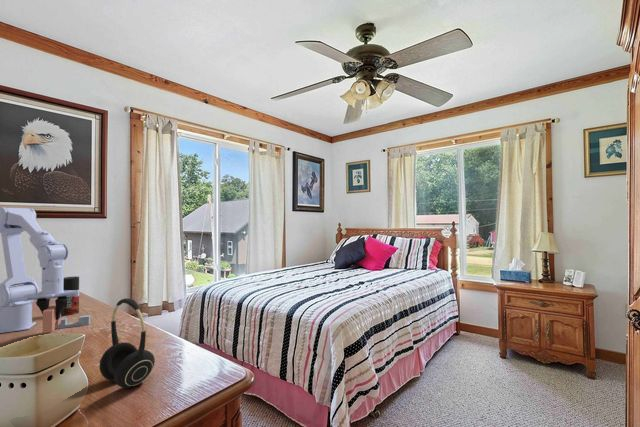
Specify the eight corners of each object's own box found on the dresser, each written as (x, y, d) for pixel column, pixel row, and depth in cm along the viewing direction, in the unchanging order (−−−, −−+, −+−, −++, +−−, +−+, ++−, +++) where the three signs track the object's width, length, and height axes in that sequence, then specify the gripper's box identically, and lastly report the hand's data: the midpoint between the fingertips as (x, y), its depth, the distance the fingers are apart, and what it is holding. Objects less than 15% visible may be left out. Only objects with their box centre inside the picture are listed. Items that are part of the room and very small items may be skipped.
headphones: (130, 367, 82) (130, 291, 82) (162, 382, 74) (162, 298, 75) (92, 382, 75) (93, 298, 75) (124, 400, 67) (124, 307, 67)
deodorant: (63, 316, 127) (63, 279, 127) (59, 313, 130) (59, 278, 131) (80, 313, 131) (81, 277, 132) (76, 310, 135) (76, 275, 135)
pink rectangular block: (42, 332, 101) (42, 311, 102) (52, 323, 110) (52, 303, 110) (52, 331, 102) (52, 310, 103) (60, 322, 111) (61, 303, 112)
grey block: (54, 329, 112) (54, 320, 112) (56, 327, 114) (56, 318, 114) (88, 324, 116) (88, 316, 117) (90, 322, 119) (90, 314, 119)
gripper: (20, 284, 100) (19, 326, 100) (76, 279, 106) (75, 319, 106) (28, 280, 106) (27, 320, 106) (81, 276, 113) (80, 314, 112)
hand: (52, 319), depth 106 cm, fingers closed on pink rectangular block, 2 cm apart
